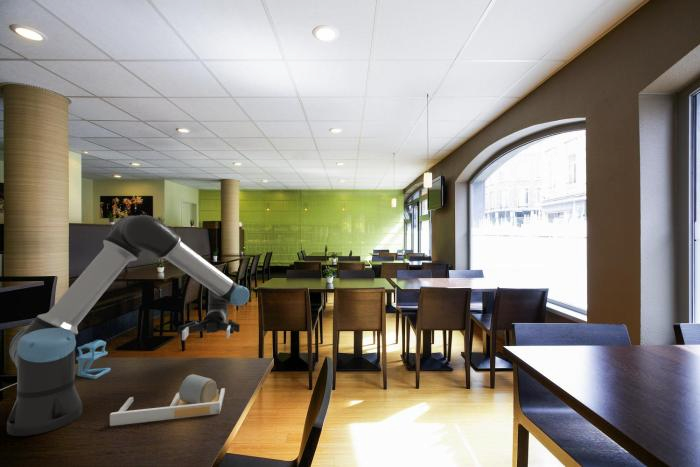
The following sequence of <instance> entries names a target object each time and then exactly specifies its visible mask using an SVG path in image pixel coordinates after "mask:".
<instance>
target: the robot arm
mask: <svg viewBox="0 0 700 467" xmlns="http://www.w3.org/2000/svg"><path fill="white" fill-rule="evenodd" d="M102 242H103V248H102V250H101V251H100V252H99V253H98V254H97V255H96V256H95V257H94V259H93V260H92V261H91V262H90V264H89V265H87V267H86V268H85V269H84V270H83V271H82V273H81V274H80V275H79V276H78V277H77V279H76V280H75V281H74V282H73V283H72V284H71V285H70V287H68V289H67V290H66V291H65V292H64V294H62V296H60V298H59V299H58V301H56V303H55V304H54V305H53V306H52V307H51V308H50V310H49V311H48V312H46V313H41V314H38V315H37V316H36V317H35V319H33V320H32V322H30V323H29V325H28V326H27V327H25V328H23V329H21V330H20V331H19V332H18V333H17V334H15V335H14V337H13V338H12V340H11V342H10V343H9V348H8V349H9V350H8V354H9V356H10V359H11V361H12V362H13V364H14V365H15V367H16V370H17V373H16V375H17V376H16V378H17V379H16V381H17V382H16V400H15V402H14V405H13V407H12V409H11V412H10V414H9V417H8V419H7V422H6V433H7V434H8V435H11V436H14V437H27V436H34V435H39V434H45V433H47V432H51V431H54V430H57V429H60V428H62V427H64V426H66V425H68V424H70V423H72V422H74V421H76V420H77V419H78V418H79V417H80V416H82V413H83V403H82V402H83V401H82V400H81V397H80V395H79V392H78V390H77V388H76V386H75V384H76V382H75V381H76V380H75V377H76V375H75V374H76V369H75V368H76V346H77V340H76V336H77V335H78V334H79V331H78V325H79V324H80V323H81V322H82V320H84V318H85V317H86V316H87V315H88V313H89V312H90V311H91V309H92V308H93V307H94V306H95V304H97V302H98V301H99V299H100V298H101V297H102V296H103V294H104V293H105V292H106V291H107V290H108V288H109V287H110V286H111V284H113V282H114V281H115V280H116V279H117V277H118V276H119V275H120V274H121V272H122V271H123V270H124V269H125V267H126V266H127V265H128V264H129V262H133V261H137V260H138V259H139V258H140V257H141V255H142V254H143V253H144V251H145V252H148V253H150V254H152V255H154V256H155V257H157V258H158V259H166V260H167V261H168V262H169V263H171V264H172V265H174V266H176V268H178V269H180V270H181V271H183V273H185V274H187V275H188V276H189V277H191V278H192V279H194V280H195V281H197V282H198V283H200V284H201V285H203V286H204V287H205V288H207V289H208V303H207V304H208V305H207V307H208V308H207V313H206V315H205V316H204V318H203V320H201V321H199V322H198V321H197V320H193V321H191V322H188V323H186V324H183V325H178V327H177V335H180V336H181V341H186V339H187V338H188V336H189V335H190V334H194V333H197V332H205V331H206V332H208V333H211V334H212V333H217V332H220V331H224V332H226V337H225V338H226V339H230V336H231V334H234V333H239V332H240V327H241V326H240V324H239V323H237V322H235V321H233V320H232V319H228V316H229V309H228V306H229V305H233V306H235V307H237V306H239V307H240V306H244V305H245V304H247V302H248V301H249V299H250V290H249V289H248V288H247V287H245V286H243V285H239V284H238V283H236V282H235V281H234V280H232V279H231V278H230V277H229V276H227V275H226V274H224V272H222V271H221V270H220V269H218V268H217V267H216V266H214V265H213V264H211V263H210V262H209V261H207V260H206V259H205V258H203V257H202V256H201V255H200V254H199V253H197V252H196V251H194V250H193V249H192V248H191V247H189V245H187V244H185V243H184V242H183V241H181V236H180V235H179V234H177V233H176V231H174V230H172V228H170V227H169V226H167V225H166V223H164V222H162V221H161V220H159V219H158V218H156V217H154V216H151V215H147V214H140V215H126V216H124V217H122V218H120V219H118V220H117V221H116V222H115V223H113V225H112V226H111V228H110V233H108V235H107V236H106V237H105V238H104V240H103V241H102ZM227 319H228V320H227Z"/></svg>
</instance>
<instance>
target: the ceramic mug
mask: <svg viewBox="0 0 700 467" xmlns="http://www.w3.org/2000/svg"><path fill="white" fill-rule="evenodd" d="M178 391H179V392H178V393H179V396H180V398H179V400H180V399H181V400H182V401H183V402H188V403H193V404H198V403H208V402H211V401H212V400H213V398H214V397H215V395H217V394H218V393H219V391H220V389H218V386H217V383H216V381H215V380H213V379H212V378H209V377H205V376H202V375H198V374H193V373H192V374H189V375H187V376H186V377H185V378H184V380H183V381H182V382H181V384H180V387H179V390H178Z"/></svg>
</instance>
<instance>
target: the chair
mask: <svg viewBox="0 0 700 467" xmlns="http://www.w3.org/2000/svg"><path fill="white" fill-rule="evenodd" d="M106 345H107V342H106V341H104V340H102V339H95V340H94V341H92V342H89V343H85V344H84V345H81V346H78V347H77V351H78V352H79V354H78V356H75V361H77V362H78V368H77V369H78V370H77V377H82V378H86V379H87V378H88V379H93V380H95V379H98V378H99V377H101V376H103V375H105V374H107V373H109V372H111V367H105V368H93V369H90V368H91V366H92V363H93V362H94V361H95V360H98V359H99V358H101V357H103V356H104V357H105V356H106V355H108V352H109V351H106V350H105V348H106ZM99 347H100V348H101V347H102V348H101V351H96V349H98V348H99ZM83 349H89V352H86V353H84V354H83V351H82V350H83ZM87 361H88V362H87ZM85 362H87V364H86V366H85V368H84V364H85ZM91 373H97V374H95V375H94V374H91Z"/></svg>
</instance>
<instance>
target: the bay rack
mask: <svg viewBox="0 0 700 467" xmlns="http://www.w3.org/2000/svg"><path fill="white" fill-rule="evenodd" d="M225 392H226V388H225V387H223V388H221V389H220V392H218V394H217V395H215V397H214V398H213V400H212V401H211V402H208V403H198V404H193V403H188V402H183V401H182V400H181V399H180V396H179V392H176V393H175V396H174V397H173V399H172V402H171V403H170V405H169V406H161V407H160V406H159V407H154V408H143V409H142V408H141V409H134V410H128V409H129V407H131V405H132V403H133V402H134V396H129V398H128V399H127V400H126V401H125V402H124V404H122V406H121V407H120V408H119V410H118V411H115V412H110V414H109V426H110V427H113V426H114V427H115V426H124V425H132V424H140V423H149V422H157V421H158V422H159V421H166V420H175V419H185V418H194V417H201V416H210V415H211V416H212V415H219V414H221V410H222V405H223V401H224V398H225Z"/></svg>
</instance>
